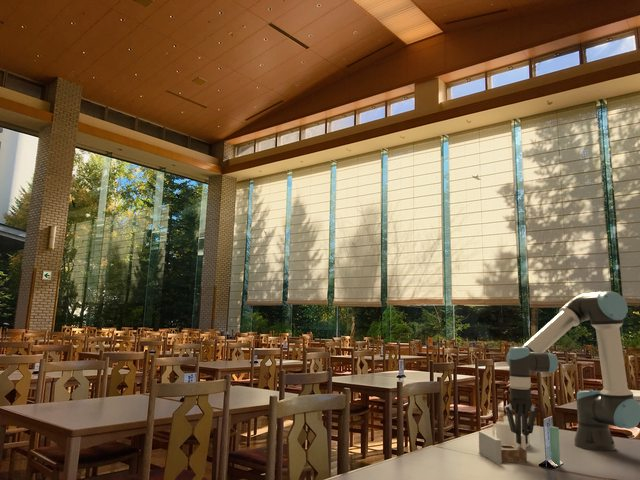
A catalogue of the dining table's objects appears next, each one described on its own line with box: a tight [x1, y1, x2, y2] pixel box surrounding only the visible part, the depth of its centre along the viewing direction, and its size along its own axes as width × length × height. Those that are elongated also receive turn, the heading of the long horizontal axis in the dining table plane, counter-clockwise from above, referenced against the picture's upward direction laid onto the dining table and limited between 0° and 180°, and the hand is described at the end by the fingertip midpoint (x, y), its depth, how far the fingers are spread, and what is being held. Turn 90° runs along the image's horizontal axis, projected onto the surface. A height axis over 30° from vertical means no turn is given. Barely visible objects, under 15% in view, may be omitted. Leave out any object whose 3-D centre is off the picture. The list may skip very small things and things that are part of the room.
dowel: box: [549, 426, 561, 467], centre depth 184 cm, size 3×3×13 cm
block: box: [501, 444, 528, 463], centre depth 191 cm, size 10×10×4 cm
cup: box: [492, 420, 518, 446], centre depth 208 cm, size 8×12×10 cm
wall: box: [478, 430, 503, 465], centre depth 191 cm, size 2×16×8 cm, turn 4°
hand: (522, 452), depth 192 cm, fingers closed
